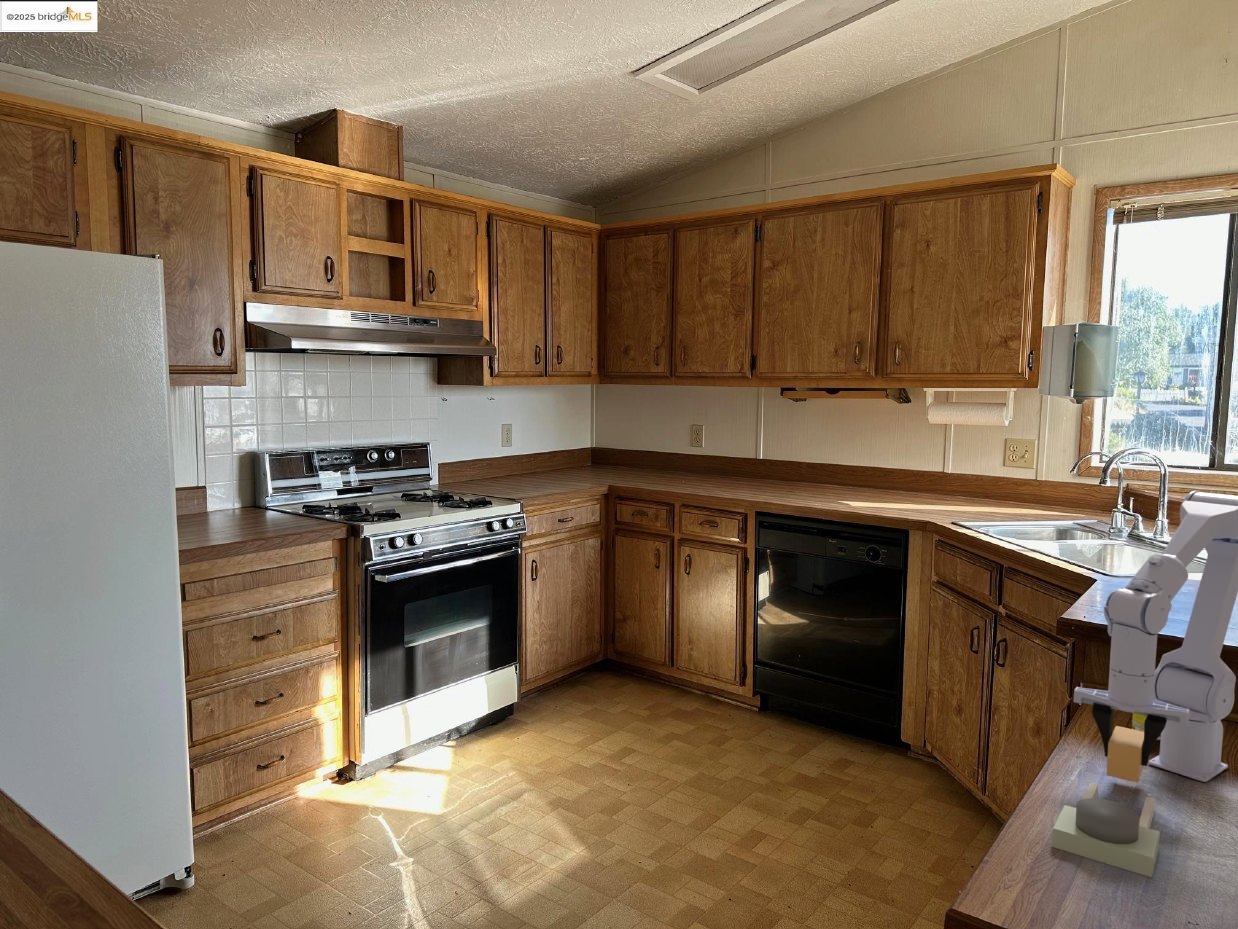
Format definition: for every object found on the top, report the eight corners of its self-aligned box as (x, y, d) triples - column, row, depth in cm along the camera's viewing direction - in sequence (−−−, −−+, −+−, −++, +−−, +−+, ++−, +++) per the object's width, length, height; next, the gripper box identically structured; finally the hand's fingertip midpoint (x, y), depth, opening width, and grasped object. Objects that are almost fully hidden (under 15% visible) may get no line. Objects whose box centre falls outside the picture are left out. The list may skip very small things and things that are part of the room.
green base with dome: (1078, 792, 123) (1080, 759, 123) (1166, 816, 117) (1169, 781, 116) (1051, 846, 108) (1054, 809, 108) (1152, 877, 101) (1154, 838, 101)
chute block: (1113, 757, 129) (1115, 725, 129) (1144, 764, 127) (1146, 732, 126) (1106, 775, 123) (1108, 742, 122) (1138, 783, 120) (1140, 749, 120)
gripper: (1072, 667, 125) (1067, 754, 126) (1189, 688, 116) (1182, 782, 117) (1080, 655, 130) (1075, 740, 131) (1192, 675, 122) (1186, 765, 123)
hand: (1126, 759), depth 125 cm, fingers closed on chute block, 4 cm apart
